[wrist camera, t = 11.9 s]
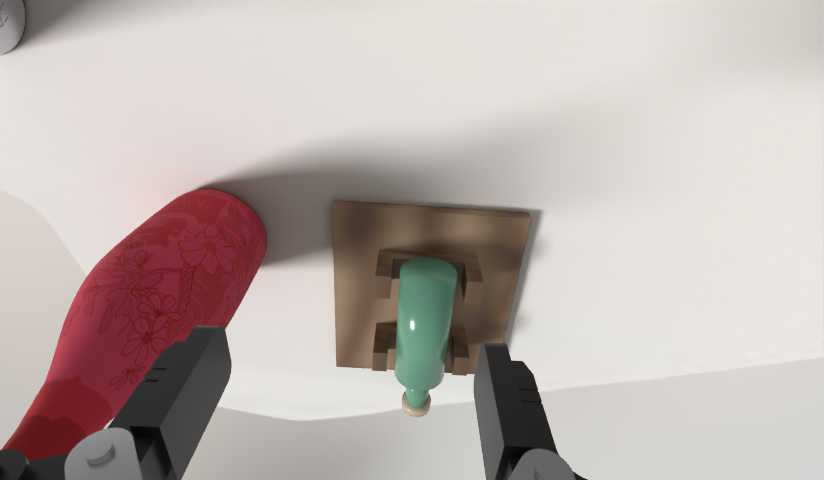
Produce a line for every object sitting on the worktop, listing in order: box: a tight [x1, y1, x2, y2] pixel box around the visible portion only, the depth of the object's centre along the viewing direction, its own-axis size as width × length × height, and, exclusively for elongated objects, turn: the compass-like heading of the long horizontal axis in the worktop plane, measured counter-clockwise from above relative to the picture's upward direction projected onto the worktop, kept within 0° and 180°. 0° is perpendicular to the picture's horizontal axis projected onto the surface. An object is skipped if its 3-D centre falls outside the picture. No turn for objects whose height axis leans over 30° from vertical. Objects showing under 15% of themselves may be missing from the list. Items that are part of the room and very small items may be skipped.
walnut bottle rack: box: [332, 200, 531, 376], centre depth 42 cm, size 18×20×6 cm
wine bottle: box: [1, 189, 267, 461], centre depth 28 cm, size 10×10×30 cm
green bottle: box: [394, 257, 458, 417], centre depth 42 cm, size 17×5×5 cm, turn 177°
